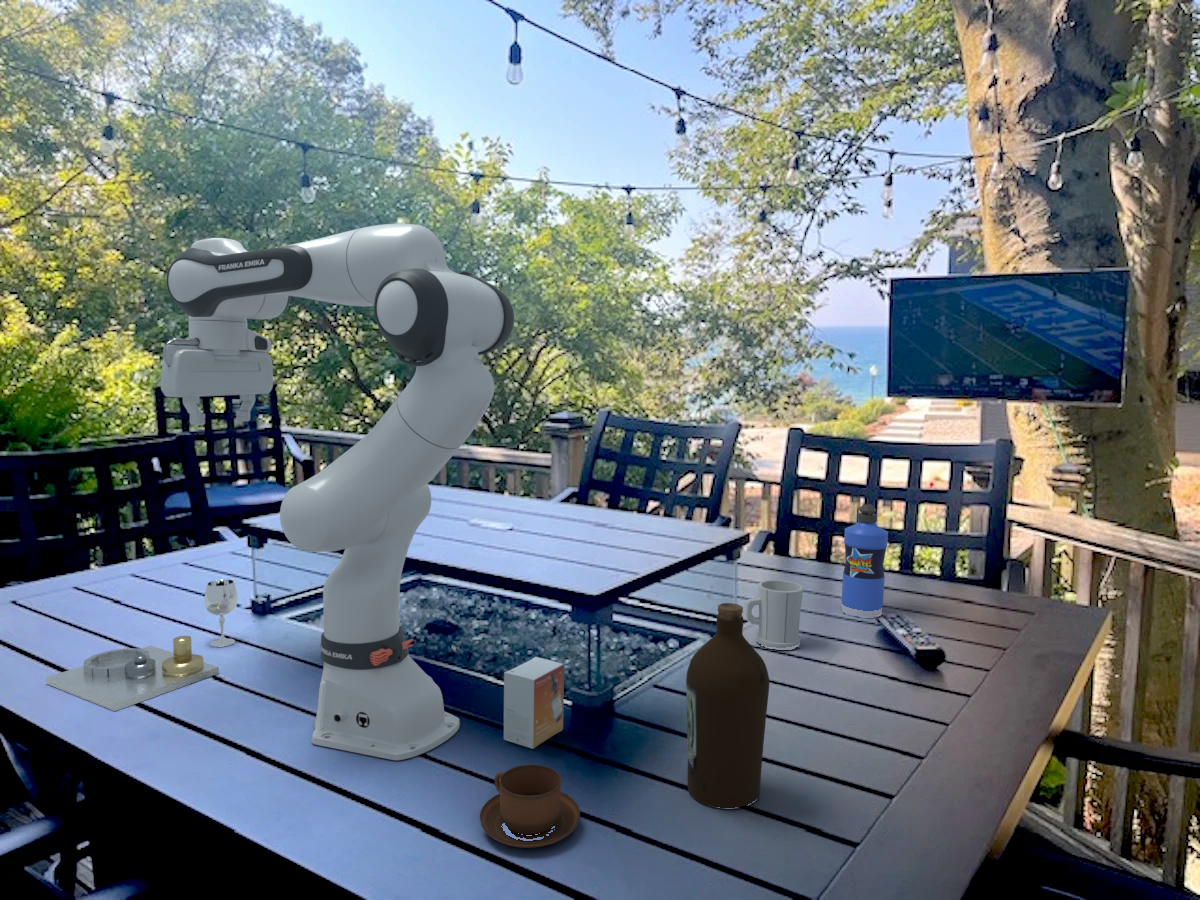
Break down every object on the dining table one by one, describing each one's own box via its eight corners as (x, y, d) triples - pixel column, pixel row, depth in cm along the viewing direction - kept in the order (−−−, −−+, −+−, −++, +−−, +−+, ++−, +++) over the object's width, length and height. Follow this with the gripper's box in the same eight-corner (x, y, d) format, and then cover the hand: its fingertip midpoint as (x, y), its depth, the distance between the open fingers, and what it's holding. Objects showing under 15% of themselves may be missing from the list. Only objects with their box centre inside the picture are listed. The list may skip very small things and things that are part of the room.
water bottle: (848, 603, 190) (854, 499, 187) (888, 611, 185) (894, 504, 182) (834, 613, 183) (840, 504, 180) (875, 621, 177) (882, 509, 174)
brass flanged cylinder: (211, 667, 141) (210, 636, 140) (176, 679, 135) (175, 647, 135) (188, 660, 144) (187, 629, 143) (154, 671, 138) (153, 640, 138)
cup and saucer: (460, 843, 93) (460, 793, 93) (508, 793, 105) (508, 748, 104) (555, 868, 89) (555, 816, 88) (594, 813, 100) (595, 766, 100)
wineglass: (226, 649, 153) (224, 587, 151) (199, 646, 154) (197, 585, 153) (245, 639, 158) (243, 579, 157) (219, 636, 159) (217, 577, 158)
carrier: (218, 673, 141) (218, 649, 141) (114, 711, 126) (113, 684, 125) (150, 651, 151) (149, 628, 150) (46, 683, 135) (45, 658, 135)
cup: (777, 656, 155) (780, 596, 153) (740, 643, 161) (742, 585, 160) (809, 645, 161) (812, 586, 160) (772, 633, 168) (774, 577, 167)
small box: (532, 750, 116) (533, 680, 114) (502, 740, 119) (502, 671, 117) (564, 729, 122) (565, 663, 121) (534, 720, 125) (535, 655, 124)
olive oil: (763, 774, 110) (771, 597, 107) (765, 817, 100) (774, 622, 97) (685, 766, 112) (691, 592, 109) (679, 808, 101) (686, 616, 99)
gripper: (179, 337, 122) (182, 428, 124) (278, 341, 141) (280, 420, 142) (149, 337, 124) (152, 426, 126) (251, 341, 143) (253, 418, 145)
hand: (221, 422), depth 134 cm, fingers open, 8 cm apart
